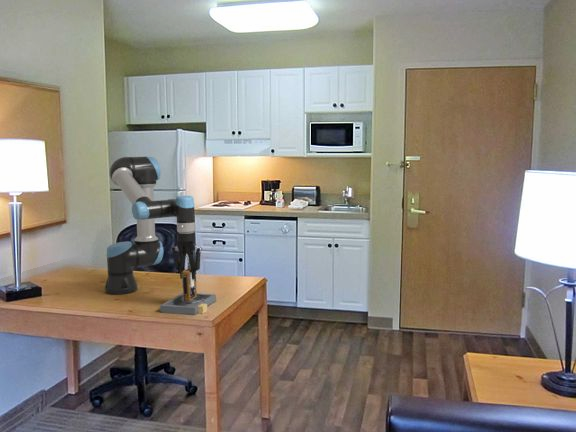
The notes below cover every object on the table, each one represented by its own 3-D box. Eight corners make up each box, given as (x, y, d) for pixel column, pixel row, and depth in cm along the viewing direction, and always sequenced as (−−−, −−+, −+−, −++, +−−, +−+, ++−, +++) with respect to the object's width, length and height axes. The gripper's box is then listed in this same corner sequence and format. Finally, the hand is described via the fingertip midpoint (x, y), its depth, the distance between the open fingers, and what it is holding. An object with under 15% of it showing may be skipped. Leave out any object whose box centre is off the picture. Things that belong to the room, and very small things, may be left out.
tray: (160, 312, 213) (159, 305, 213) (183, 298, 233) (183, 292, 233) (200, 315, 208) (200, 308, 208) (221, 301, 228) (221, 294, 228)
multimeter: (201, 305, 212) (199, 257, 210) (179, 303, 215) (177, 256, 213) (215, 295, 226) (213, 251, 224) (195, 294, 229) (193, 250, 227)
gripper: (164, 233, 216) (167, 287, 218) (199, 233, 211) (201, 289, 214) (173, 230, 223) (175, 283, 226) (207, 231, 219) (209, 285, 221)
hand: (188, 286), depth 220 cm, fingers open, 3 cm apart
